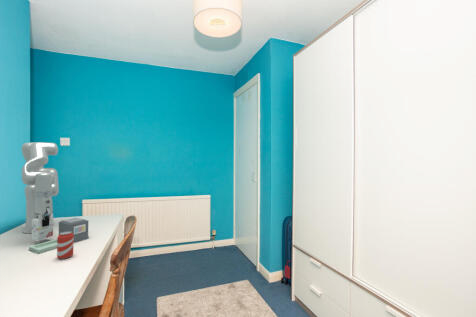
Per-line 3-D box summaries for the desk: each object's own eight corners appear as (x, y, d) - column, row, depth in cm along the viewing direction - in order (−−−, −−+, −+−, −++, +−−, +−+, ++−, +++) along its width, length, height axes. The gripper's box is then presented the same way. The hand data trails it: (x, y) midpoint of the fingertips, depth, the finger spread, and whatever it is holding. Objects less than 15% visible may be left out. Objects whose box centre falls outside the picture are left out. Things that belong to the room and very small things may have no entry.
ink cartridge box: (46, 234, 136) (47, 210, 135) (53, 235, 135) (53, 211, 134) (30, 240, 127) (31, 214, 127) (37, 241, 126) (38, 214, 126)
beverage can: (53, 259, 109) (54, 234, 109) (67, 253, 115) (67, 230, 115) (63, 260, 108) (63, 235, 108) (76, 255, 114) (76, 231, 114)
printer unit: (58, 240, 134) (58, 220, 134) (76, 235, 143) (76, 217, 143) (70, 243, 128) (70, 223, 129) (88, 238, 138) (88, 219, 138)
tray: (28, 250, 119) (28, 246, 119) (59, 241, 132) (59, 238, 132) (38, 253, 115) (38, 250, 115) (69, 244, 127) (69, 241, 127)
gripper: (59, 194, 130) (58, 225, 131) (43, 191, 138) (42, 221, 138) (43, 196, 124) (42, 229, 124) (27, 193, 131) (27, 224, 131)
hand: (42, 224), depth 131 cm, fingers closed on ink cartridge box, 5 cm apart
